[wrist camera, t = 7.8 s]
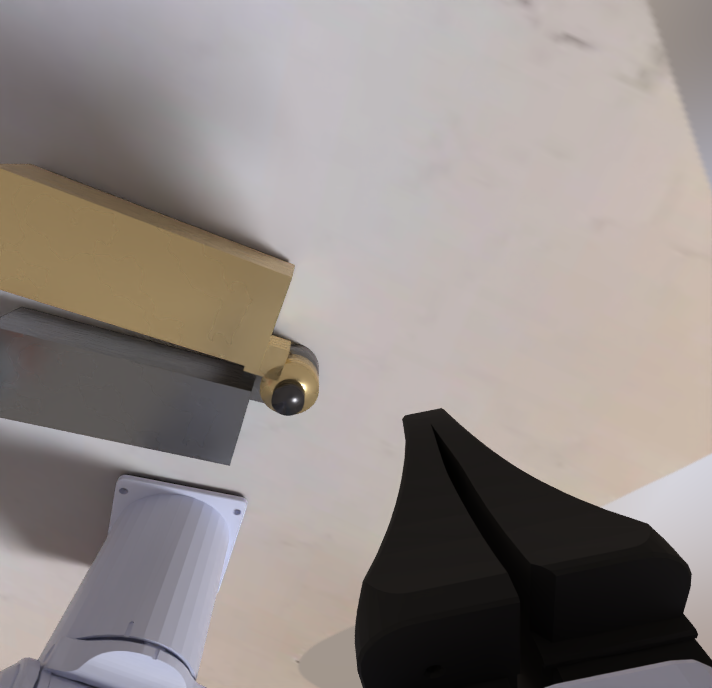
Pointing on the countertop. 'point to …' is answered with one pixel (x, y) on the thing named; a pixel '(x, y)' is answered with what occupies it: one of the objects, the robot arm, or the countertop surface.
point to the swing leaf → (146, 274)
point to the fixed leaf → (128, 387)
